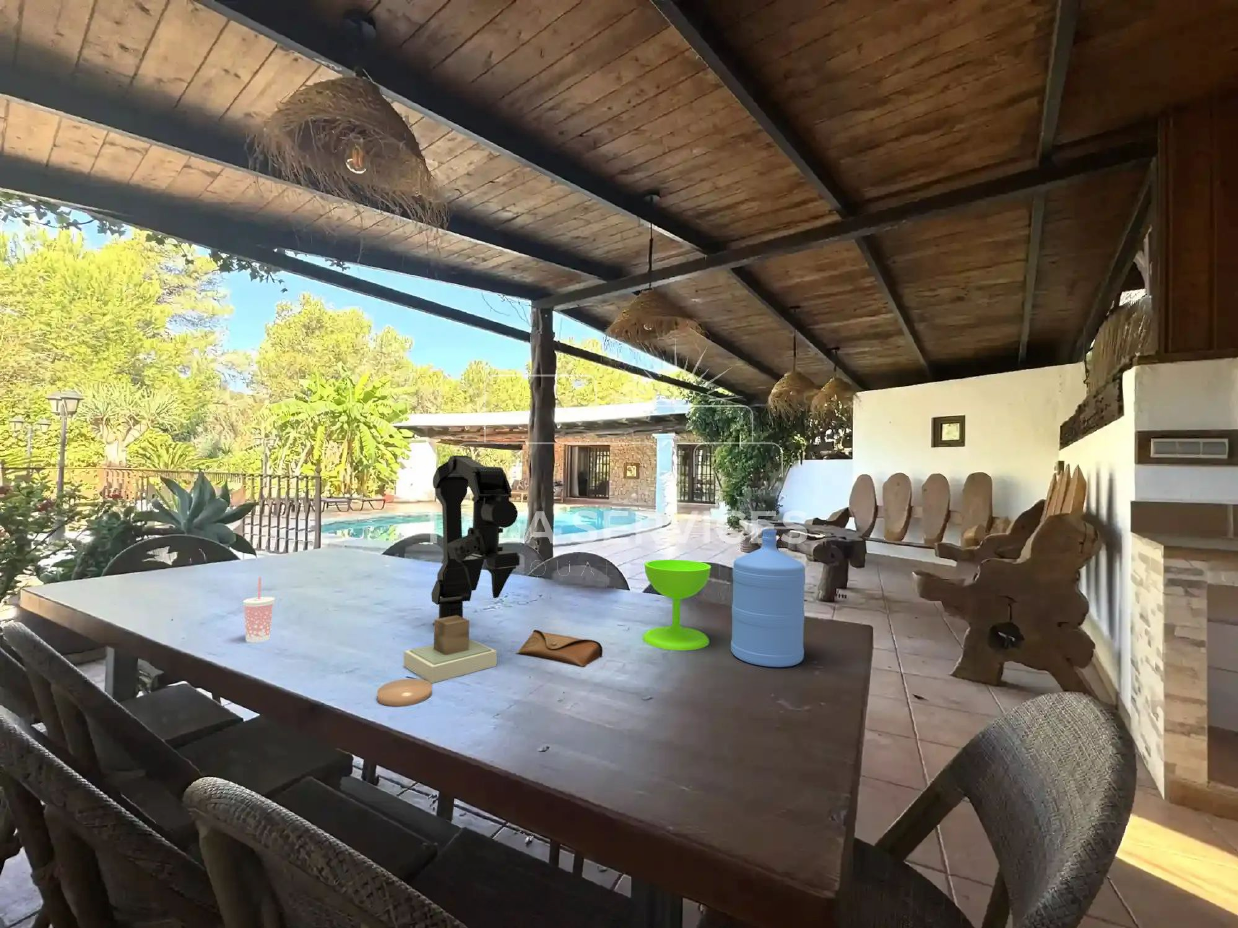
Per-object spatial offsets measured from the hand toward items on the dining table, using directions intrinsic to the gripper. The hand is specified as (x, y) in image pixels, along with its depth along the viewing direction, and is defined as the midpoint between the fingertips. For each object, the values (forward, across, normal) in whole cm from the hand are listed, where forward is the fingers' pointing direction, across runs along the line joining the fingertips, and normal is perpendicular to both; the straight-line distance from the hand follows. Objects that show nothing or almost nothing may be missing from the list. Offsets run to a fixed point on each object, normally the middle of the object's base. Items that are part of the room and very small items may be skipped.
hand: (484, 593), depth 122 cm
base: (+12, +4, -10) cm, 16 cm away
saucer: (+12, +12, -23) cm, 29 cm away
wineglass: (+13, +23, +39) cm, 47 cm away
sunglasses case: (+13, +13, +11) cm, 21 cm away
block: (+9, +4, -10) cm, 14 cm away
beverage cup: (+13, -40, -34) cm, 54 cm away
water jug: (+13, +44, +45) cm, 64 cm away
